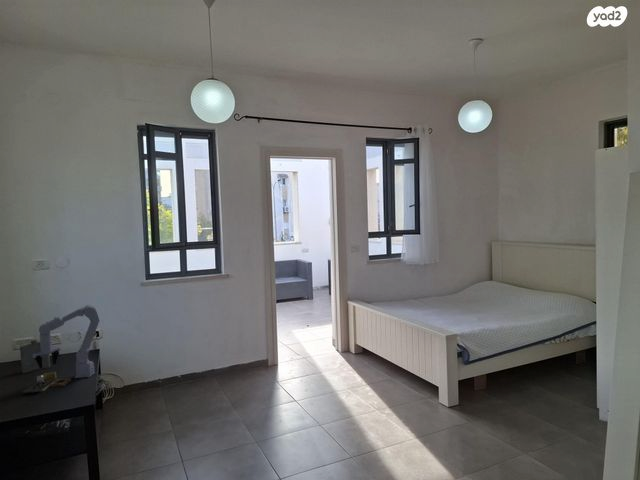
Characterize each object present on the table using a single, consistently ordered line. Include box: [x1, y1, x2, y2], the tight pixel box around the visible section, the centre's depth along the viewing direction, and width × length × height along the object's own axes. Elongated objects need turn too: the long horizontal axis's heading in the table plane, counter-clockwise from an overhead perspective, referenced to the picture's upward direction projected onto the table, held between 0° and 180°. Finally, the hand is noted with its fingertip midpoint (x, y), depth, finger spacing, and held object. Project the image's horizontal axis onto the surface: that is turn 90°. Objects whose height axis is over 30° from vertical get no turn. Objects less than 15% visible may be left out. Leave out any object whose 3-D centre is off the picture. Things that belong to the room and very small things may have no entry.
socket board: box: [34, 380, 55, 392], centre depth 249 cm, size 9×12×2 cm
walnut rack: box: [50, 378, 72, 388], centre depth 253 cm, size 8×8×2 cm
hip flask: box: [19, 339, 51, 374], centre depth 284 cm, size 16×4×20 cm, turn 132°
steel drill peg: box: [36, 374, 44, 387], centre depth 249 cm, size 4×4×7 cm
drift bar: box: [22, 371, 58, 394], centre depth 249 cm, size 20×8×4 cm, turn 4°
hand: (47, 366), depth 257 cm, fingers open, 7 cm apart
